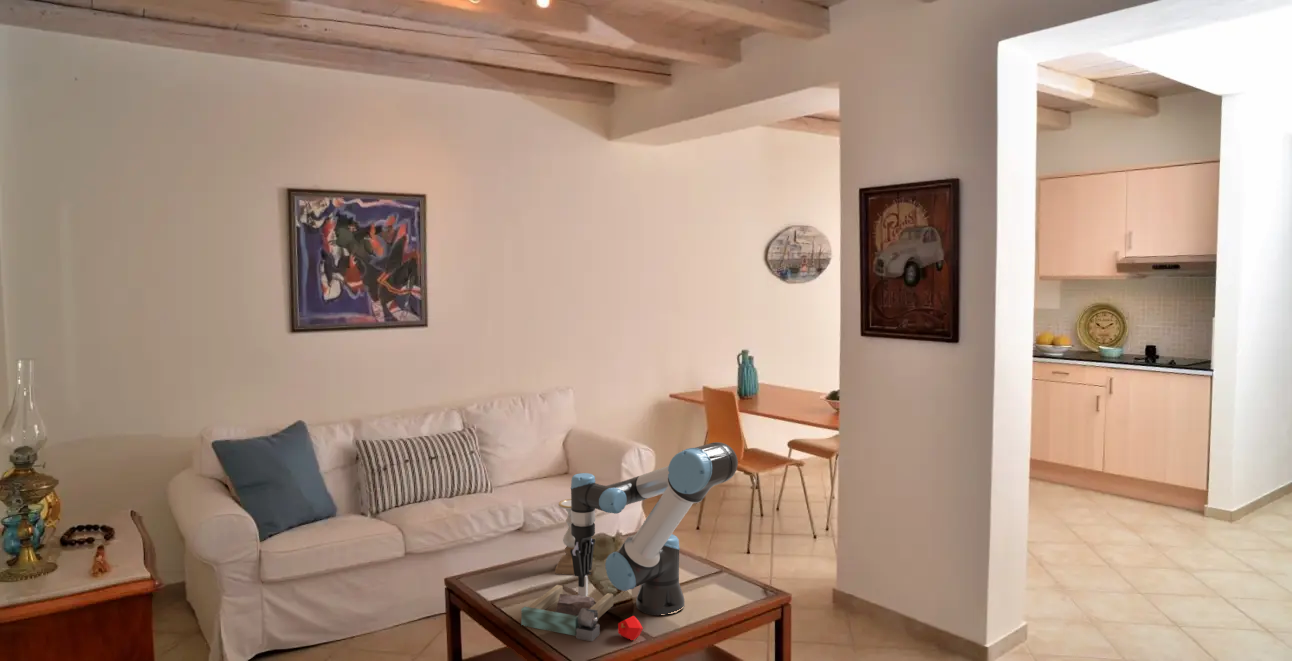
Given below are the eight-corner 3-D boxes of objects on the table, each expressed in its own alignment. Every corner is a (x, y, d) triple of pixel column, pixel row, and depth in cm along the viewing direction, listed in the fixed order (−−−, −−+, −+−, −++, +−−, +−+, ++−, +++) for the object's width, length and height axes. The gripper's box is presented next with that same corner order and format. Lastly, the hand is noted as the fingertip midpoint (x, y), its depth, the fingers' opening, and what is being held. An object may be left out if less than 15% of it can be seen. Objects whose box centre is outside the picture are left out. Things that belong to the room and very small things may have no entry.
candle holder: (561, 562, 298) (560, 497, 297) (591, 564, 297) (591, 498, 295) (554, 574, 288) (554, 506, 286) (585, 575, 286) (585, 507, 285)
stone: (593, 617, 253) (593, 602, 252) (554, 617, 253) (554, 603, 252) (595, 605, 262) (595, 590, 262) (557, 605, 262) (557, 591, 261)
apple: (635, 611, 244) (617, 609, 238) (650, 622, 239) (632, 621, 233) (626, 633, 243) (607, 632, 238) (641, 645, 239) (623, 644, 233)
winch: (601, 634, 240) (601, 607, 240) (593, 641, 236) (593, 614, 235) (582, 631, 243) (582, 604, 242) (574, 638, 238) (574, 611, 237)
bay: (613, 605, 261) (613, 589, 261) (578, 636, 239) (578, 619, 239) (557, 595, 269) (557, 580, 269) (518, 624, 247) (518, 608, 246)
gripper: (582, 515, 270) (582, 586, 272) (562, 527, 258) (562, 600, 260) (602, 518, 267) (602, 589, 269) (584, 530, 255) (584, 604, 257)
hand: (583, 595), depth 264 cm, fingers closed
